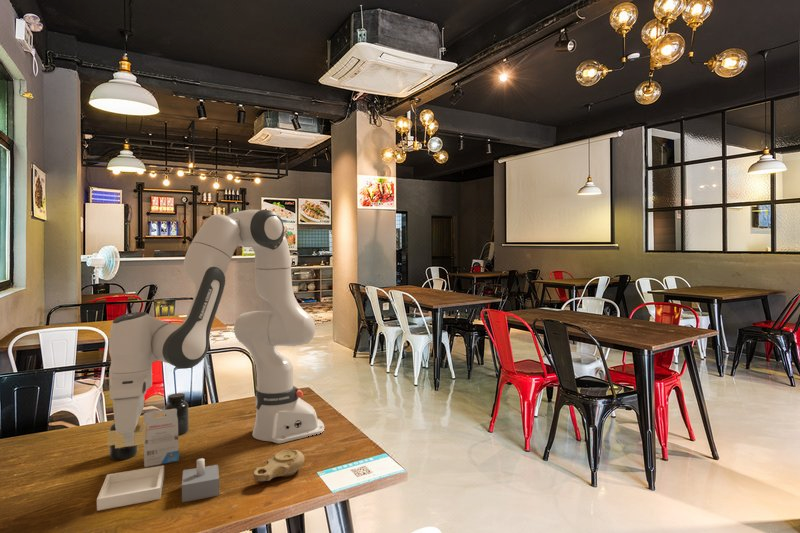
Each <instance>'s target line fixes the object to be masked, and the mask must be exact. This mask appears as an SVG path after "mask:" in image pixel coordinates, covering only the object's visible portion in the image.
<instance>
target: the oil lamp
mask: <svg viewBox="0 0 800 533" xmlns="http://www.w3.org/2000/svg"><path fill="white" fill-rule="evenodd" d="M304 463H305V455H304V454H303V453H302V451H300V450H299V449H283V450H280V451H278V452H277V453H275V455H273V456H272V457H271V458H268V459H267V460H266V465H264V466H259V467H258V466H257V467H255V468H254V471H253V473H252V475H253V478H254V479H255V480H256V481H258V482H266V481H271V480H272V479H275V478H277V477H285V478H286V477H290V476H294V475H295V474H296V472H298V470H300V469H301V468H302V466H303V465H304Z"/></svg>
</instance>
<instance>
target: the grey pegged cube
mask: <svg viewBox="0 0 800 533" xmlns="http://www.w3.org/2000/svg"><path fill="white" fill-rule="evenodd" d="M205 460H206V459H205V458H203V457H202V458H197V459H196V467H195V468H188V469H183V470H182V478H181V479H182V480H181V503H185V502H192V501H197V500H202V499H207V498H211V497H218V496H220V474H219V465H218V464H214V465H213V464H212V465H208V466H207V465H206V463H205ZM205 465H206V466H205Z"/></svg>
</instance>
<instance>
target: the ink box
mask: <svg viewBox="0 0 800 533" xmlns="http://www.w3.org/2000/svg"><path fill="white" fill-rule="evenodd" d="M165 414H166V416H165ZM159 415H163V416H159ZM145 423H147V438H146V441H145V444H143V465H144V468H150V467H155V466H160V465H163V464H168V463H169V464H170V463H174V462H178V461H180V457H179V456H180V454H179V452H180V451H179V450H180V449H179V435H178V418H177V409H169V410H165V409H162V410H155V411H148V412H145V413H143V422H142V424H145Z"/></svg>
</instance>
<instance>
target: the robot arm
mask: <svg viewBox="0 0 800 533" xmlns="http://www.w3.org/2000/svg"><path fill="white" fill-rule="evenodd" d="M238 247H242V248H252V250H253V253H254V280H255V284H254V285H255V292H256V294H257V295H258V296H259V298H262V299H263V300H264V301H266V302H268V303H269V305H270V306H271V308H272V310H252V311H248V312H243V313H241V314H240V315H238V317H237V318H236V320H235V322H234V326H233V333H234V335H235V338H236V339H237V340H238V342H239V343H241V344H242V345H243V346H244V347H245V348H246V349H247V350H248V352H249V353H250V355H251V357H252V359H253V361H254V363H255V370H256V372H255V373H256V383H257V384H256V385H257V386H256V388H257V389H256V390H255V399H254V400H255V408H256V412H255V413H256V415H255V420H254V427H253V430H252V434H251V435H252V438H254V439H256V440H258V441H264V442H272V443H275V444H283V443H288V442H291V441H297V440H300V439H305V438H307V437H308V436H309V437H312V435H313V436H316V434H317V435H321V434H323V433H324V432H325V430H324V429H325V428H326V427H325V423H324V422H323V421H322V420H321V419H319V418H318V415H317V412H316V409H315V408H314V407H313V406H312V405H311V404H310V403H308V402H306V401H305V400H303V399H302V397H303V396H304V393H303V391H302V390H300V389H299V388H298V387H297V386H294V366H293V364H292V362H291V360H290V359H289V358H287V357H285V356H284V355H282V354H281V353H280V352H279V350H278V349H277V347H296V346H302V345H307V344H309V343H311V341H312V339H313V338H314V336H315V333H316V323H315V321H314V319H313V317H312V316H311V314H310V313H308V312H306V311H305V310H304V308H302V307H301V305H300V304H299V302H298V301H297V298H296V297H295V296H296V295H295V293H294V289H293V280H292V261H291V252H290V246H289V243H288V239H287V237H286V236H285V225H284V222H283V220H282V218H281V216H280V215H279V214H278V213H276V212H275V211H272V210H269V209H245V210H239V211H238V210H237V211H230V212H227V213H226V214H221V213H220V214H219V213H217V214H213V215H210V216H208V217H207V219H206V220H205V221H204V222H203V224H202V225H201V226H200V228H199V229H198V231H197V232H196V233H195V236H194V237H193V239H192V241H191V243H190V245H189V247H188V249H187V251H186V253H185V256H184V261H183V269H184V271H185V273H186V275H187V277H189V279H190V280H191V281H193V283H194V286H195V293H194V295H193V298H192V301H191V302H190V303H191V304H190V307H189V309H188V312H187V314H186V317H185V319H184V321H183V322H181V324H178V323H173V322H168V321H164V320H162V319H159V318H156V317H153V316H152V315H149V313H147V312H146V311H145V312H144V311H136V312H130V313H126V314H125V313H124V314H122V315H120V316H117V317H115V319H113V321H112V322H111V326H110V330H109V340H108V353H109V356H110V366H109V372H108V375H109V377H108V378H109V379H108V380H109V384H108V385H109V388H108V389H109V399H110V400H112V409H113V410H112V411H113V422H114V421H115V422H114V423H115V428H116V431H117V433H123V435H124V438H125V445H126V446H129V445H133V443H134V431H135V428H136V426H137V424H139V420H140V417H141V415H142V412H143V410H144V407H145V395H146V394H147V390H149V389H150V388H151V387H152V386H153V363H154V362H157V361H160V362H163V363H167V364H169V365H171V366H174V367H175V368H178V369H182V370H183V369H191V368H194V367H196V366H197V365H198V364H200V363H201V362H203V360H204V359H205V357H206V356H207V353H208V352H209V347H210V337H211V336H210V335H211V329H212V327H213V323H214V320H215V317H216V315H217V311H218V310H219V309H218V308H219V305H220V303H221V300H222V296H223V293H224V290H225V285H226V273H227V270H228V267H229V265H230V262H231V260H232V259H233V256H234V253H235V250H236V249H237V248H238ZM323 431H324V432H323ZM322 432H323V433H322ZM320 433H321V434H320Z"/></svg>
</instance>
